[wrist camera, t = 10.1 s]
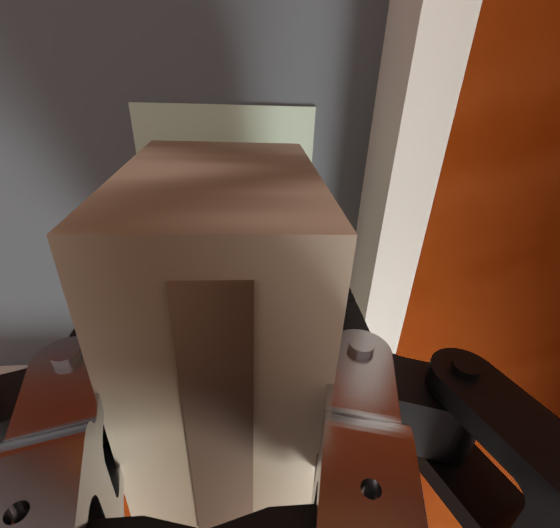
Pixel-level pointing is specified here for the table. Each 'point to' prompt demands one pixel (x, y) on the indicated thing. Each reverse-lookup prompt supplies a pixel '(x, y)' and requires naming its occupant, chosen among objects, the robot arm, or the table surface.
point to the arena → (224, 121)
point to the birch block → (210, 322)
